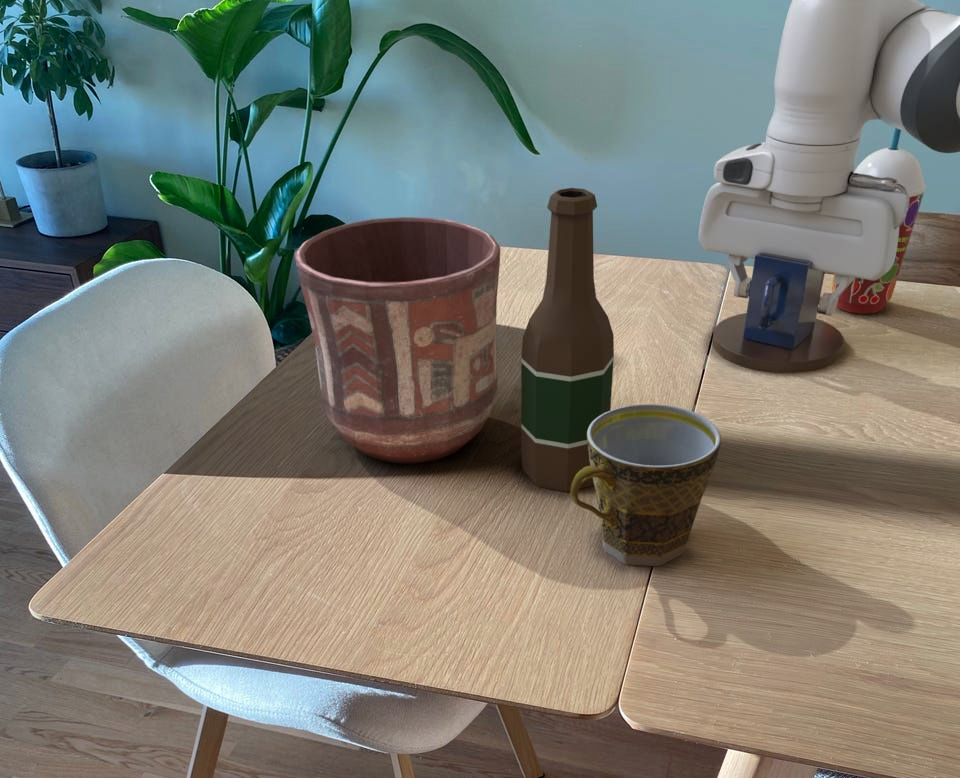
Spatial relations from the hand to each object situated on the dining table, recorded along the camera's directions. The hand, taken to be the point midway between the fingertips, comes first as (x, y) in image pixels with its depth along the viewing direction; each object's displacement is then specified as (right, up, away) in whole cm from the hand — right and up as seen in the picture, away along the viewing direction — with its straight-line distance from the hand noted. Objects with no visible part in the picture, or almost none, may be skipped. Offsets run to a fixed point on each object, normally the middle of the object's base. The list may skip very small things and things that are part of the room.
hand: (783, 304), depth 105 cm
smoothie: (+13, +4, +11) cm, 17 cm away
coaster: (0, -4, +3) cm, 5 cm away
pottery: (-40, -17, -10) cm, 44 cm away
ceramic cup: (-21, -29, -26) cm, 45 cm away
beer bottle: (-25, -21, -16) cm, 37 cm away
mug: (-1, -3, +1) cm, 4 cm away
